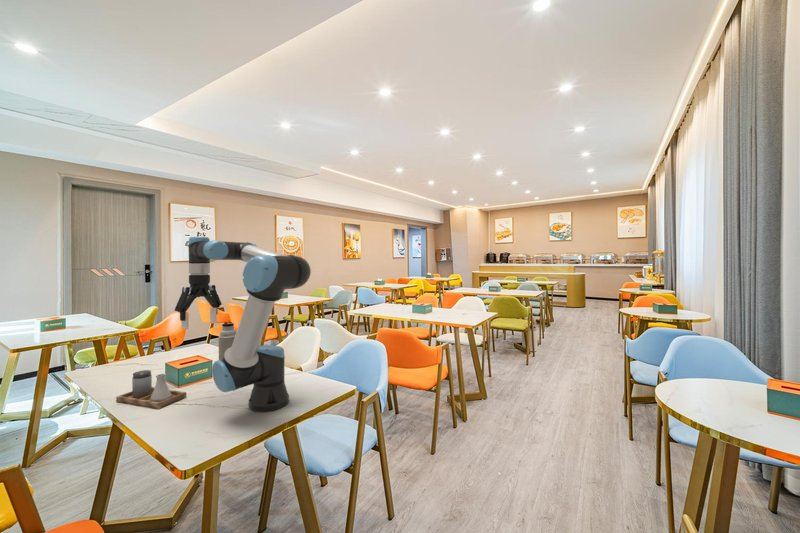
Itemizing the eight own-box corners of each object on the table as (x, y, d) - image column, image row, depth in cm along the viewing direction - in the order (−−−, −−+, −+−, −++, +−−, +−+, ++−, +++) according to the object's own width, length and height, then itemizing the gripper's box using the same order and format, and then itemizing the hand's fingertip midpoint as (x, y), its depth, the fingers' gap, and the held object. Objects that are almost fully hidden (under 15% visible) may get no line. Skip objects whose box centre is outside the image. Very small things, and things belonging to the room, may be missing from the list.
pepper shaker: (155, 394, 142) (155, 370, 142) (139, 400, 136) (139, 375, 136) (144, 392, 144) (144, 369, 144) (128, 398, 138) (128, 374, 138)
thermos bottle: (225, 379, 162) (225, 322, 162) (241, 380, 162) (240, 322, 161) (215, 385, 155) (214, 325, 154) (231, 386, 154) (231, 325, 153)
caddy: (186, 397, 141) (186, 392, 141) (158, 409, 129) (158, 403, 129) (146, 391, 148) (146, 386, 148) (116, 402, 136) (116, 396, 136)
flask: (159, 403, 133) (159, 378, 133) (145, 401, 135) (145, 377, 135) (176, 396, 140) (175, 372, 140) (162, 394, 142) (162, 371, 142)
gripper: (216, 273, 151) (217, 320, 151) (163, 275, 127) (163, 330, 128) (230, 273, 149) (230, 321, 149) (178, 275, 125) (178, 332, 125)
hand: (199, 325), depth 138 cm, fingers open, 13 cm apart
